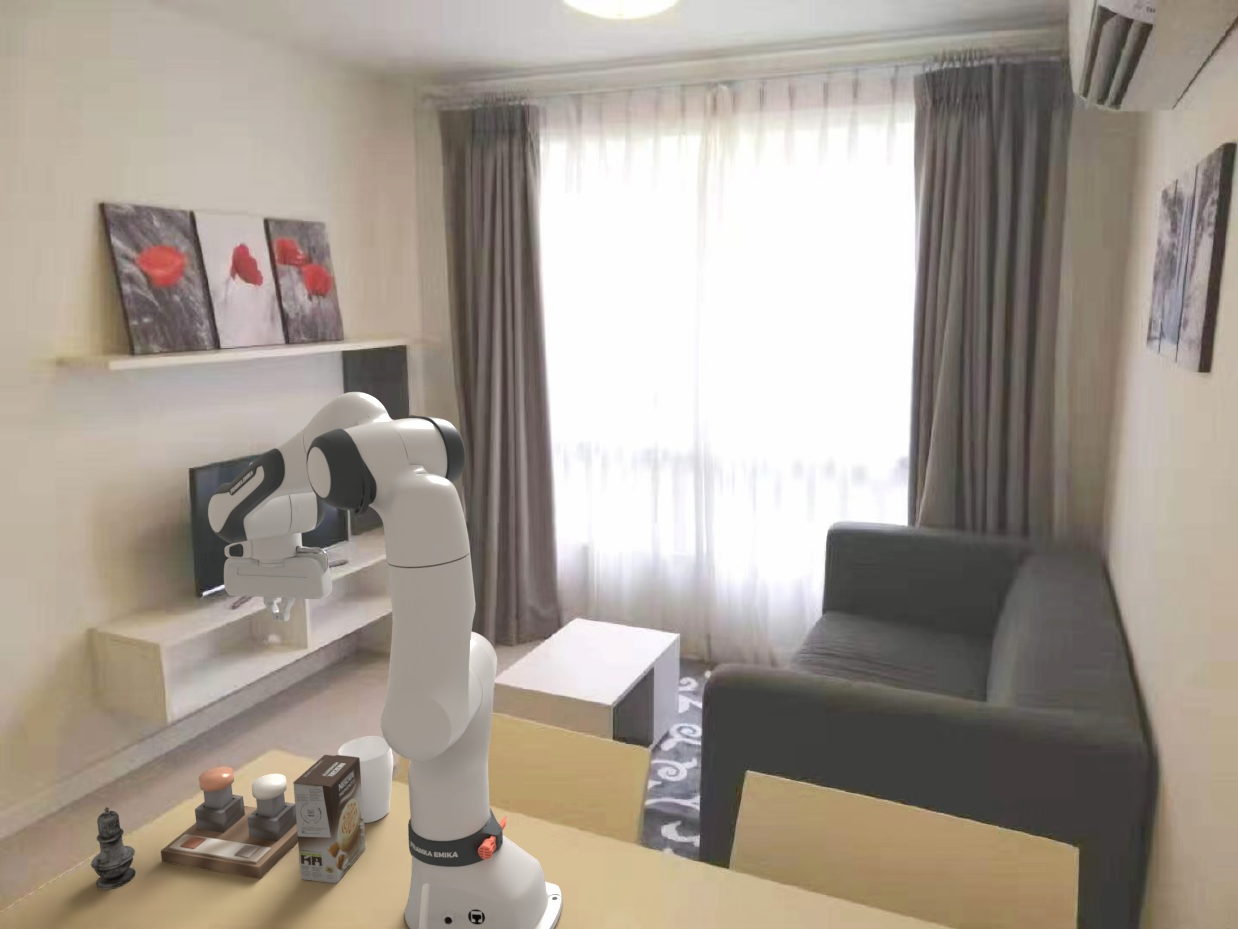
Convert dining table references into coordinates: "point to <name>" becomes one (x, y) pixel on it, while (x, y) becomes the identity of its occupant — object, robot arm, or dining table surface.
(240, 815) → the pattern board
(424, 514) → the robot arm
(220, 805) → the terracotta button
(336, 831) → the coffee box
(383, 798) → the cup
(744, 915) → the dining table surface
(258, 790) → the white button
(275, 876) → the dining table surface
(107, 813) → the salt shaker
